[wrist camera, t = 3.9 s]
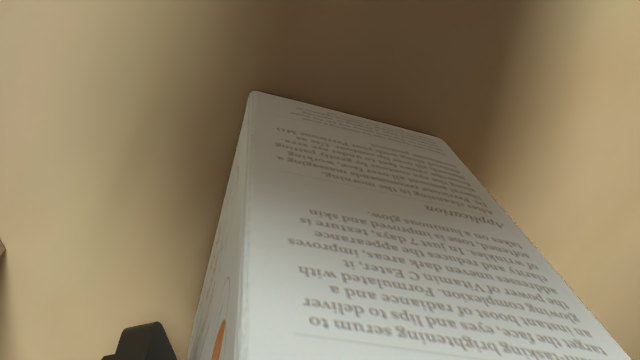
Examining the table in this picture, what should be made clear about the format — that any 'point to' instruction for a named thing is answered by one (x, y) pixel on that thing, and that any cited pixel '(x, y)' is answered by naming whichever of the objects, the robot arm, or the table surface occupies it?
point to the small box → (374, 253)
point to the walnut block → (1, 248)
